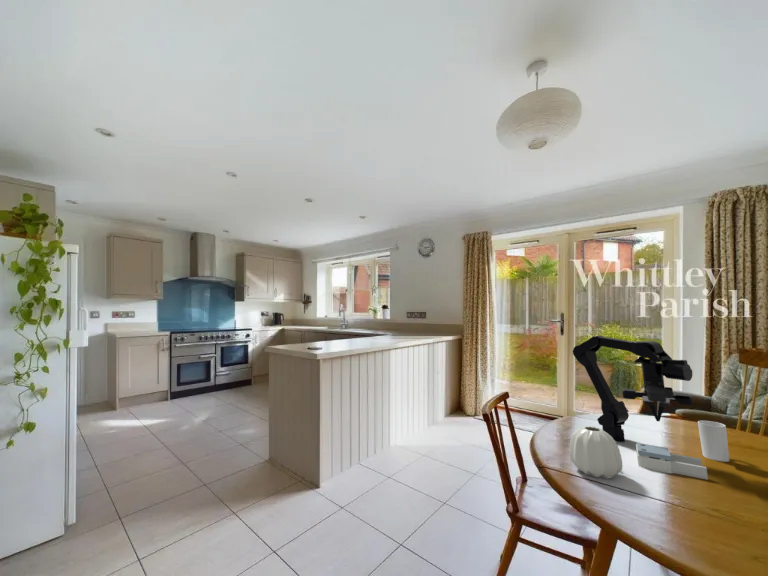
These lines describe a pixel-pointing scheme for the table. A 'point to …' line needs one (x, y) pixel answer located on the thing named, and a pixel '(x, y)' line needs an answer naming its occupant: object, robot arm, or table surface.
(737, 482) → the table surface
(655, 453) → the cover
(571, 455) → the vase
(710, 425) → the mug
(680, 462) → the white open box
